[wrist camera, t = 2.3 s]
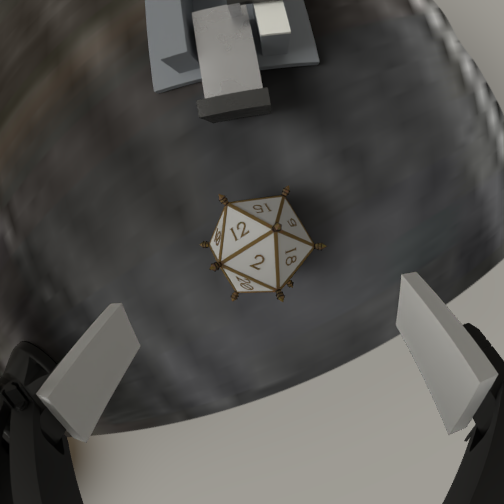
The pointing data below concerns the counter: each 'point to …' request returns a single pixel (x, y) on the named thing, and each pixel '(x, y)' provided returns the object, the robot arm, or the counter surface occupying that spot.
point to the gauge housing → (263, 30)
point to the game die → (259, 244)
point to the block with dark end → (229, 63)
